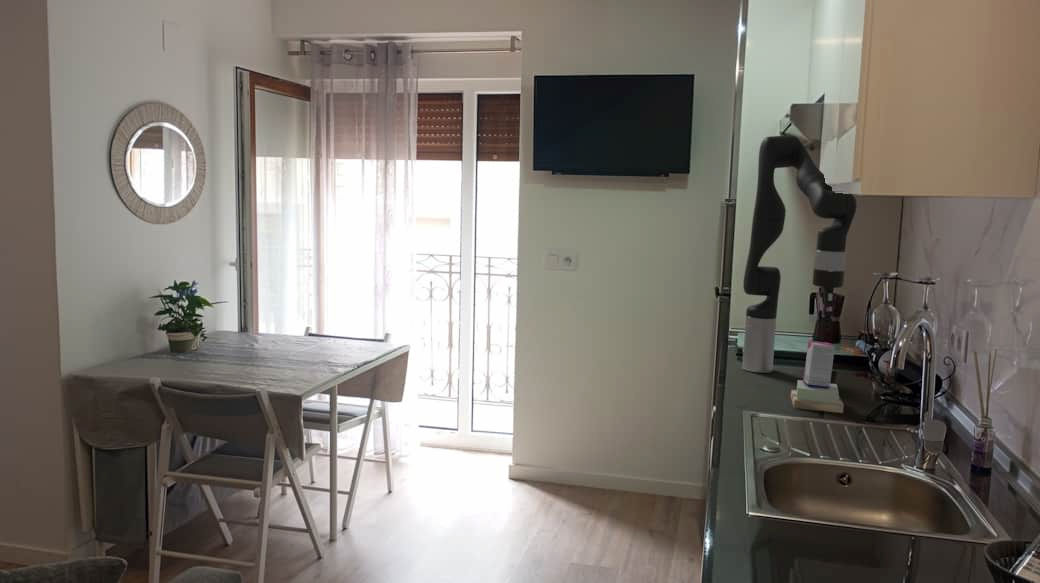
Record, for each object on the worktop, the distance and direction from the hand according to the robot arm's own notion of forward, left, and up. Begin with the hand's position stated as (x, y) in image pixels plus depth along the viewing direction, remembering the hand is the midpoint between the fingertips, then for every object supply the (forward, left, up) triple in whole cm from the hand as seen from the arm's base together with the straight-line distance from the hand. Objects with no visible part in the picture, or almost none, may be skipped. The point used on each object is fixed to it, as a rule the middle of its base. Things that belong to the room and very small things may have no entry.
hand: (823, 329), depth 206 cm
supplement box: (0, -1, -16) cm, 16 cm away
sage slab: (0, 0, -19) cm, 19 cm away
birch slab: (0, 0, -22) cm, 22 cm away
